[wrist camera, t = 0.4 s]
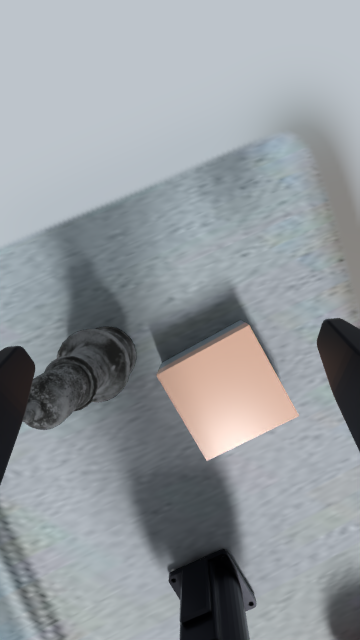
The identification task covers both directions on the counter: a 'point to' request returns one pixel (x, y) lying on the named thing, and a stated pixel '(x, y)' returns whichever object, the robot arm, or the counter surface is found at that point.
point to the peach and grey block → (226, 390)
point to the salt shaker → (80, 376)
